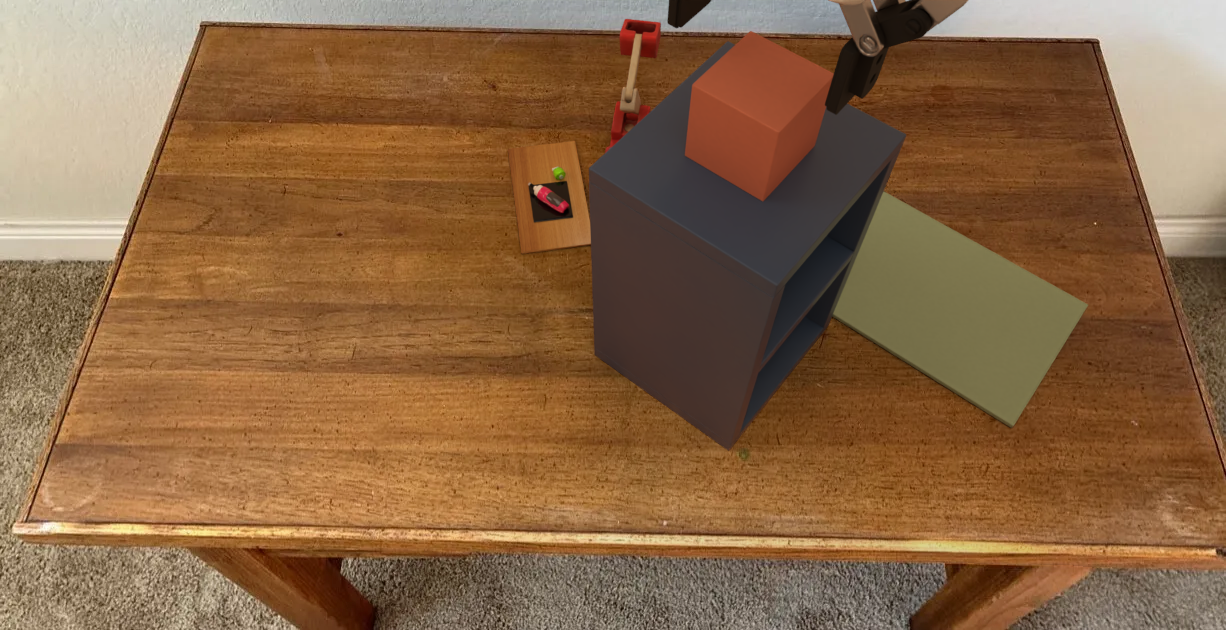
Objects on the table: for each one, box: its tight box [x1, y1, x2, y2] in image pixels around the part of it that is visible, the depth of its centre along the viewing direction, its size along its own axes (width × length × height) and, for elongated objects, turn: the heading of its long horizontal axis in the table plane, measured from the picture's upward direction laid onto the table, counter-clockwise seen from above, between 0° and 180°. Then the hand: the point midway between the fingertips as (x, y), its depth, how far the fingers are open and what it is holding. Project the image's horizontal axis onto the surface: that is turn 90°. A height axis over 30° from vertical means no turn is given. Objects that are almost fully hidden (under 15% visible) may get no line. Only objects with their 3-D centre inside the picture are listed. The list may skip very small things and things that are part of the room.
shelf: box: [588, 40, 907, 452], centre depth 60 cm, size 13×14×22 cm
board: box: [507, 140, 591, 255], centre depth 76 cm, size 6×12×2 cm, turn 9°
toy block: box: [685, 30, 834, 201], centre depth 48 cm, size 6×6×6 cm
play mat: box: [832, 190, 1089, 429], centre depth 71 cm, size 20×14×1 cm
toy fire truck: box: [604, 18, 662, 154], centre depth 76 cm, size 3×14×10 cm, turn 171°
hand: (764, 53), depth 45 cm, fingers open, 9 cm apart
